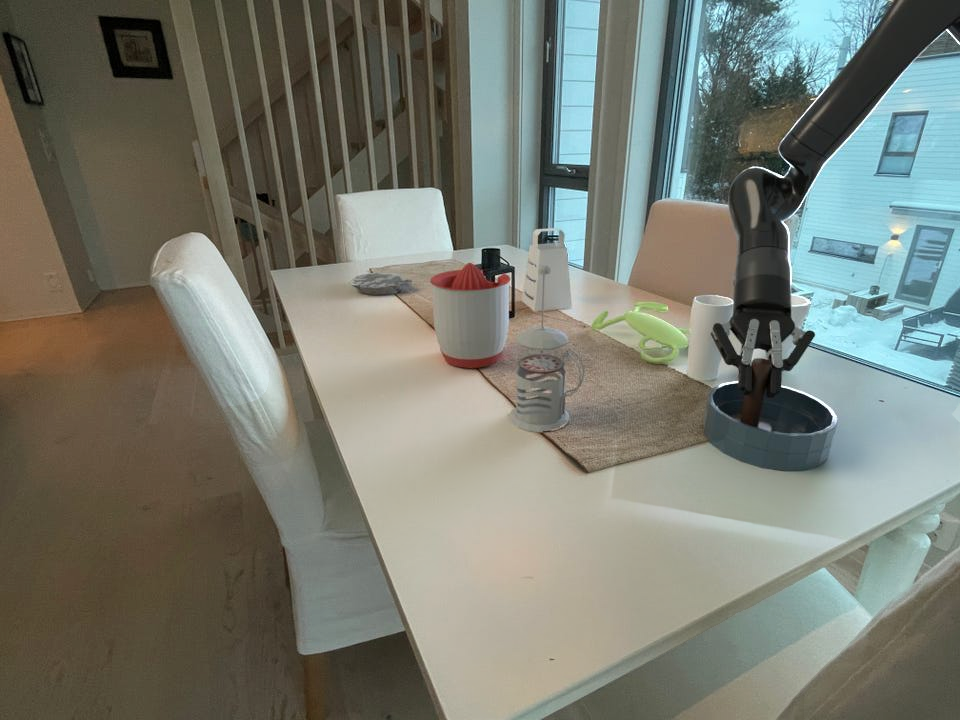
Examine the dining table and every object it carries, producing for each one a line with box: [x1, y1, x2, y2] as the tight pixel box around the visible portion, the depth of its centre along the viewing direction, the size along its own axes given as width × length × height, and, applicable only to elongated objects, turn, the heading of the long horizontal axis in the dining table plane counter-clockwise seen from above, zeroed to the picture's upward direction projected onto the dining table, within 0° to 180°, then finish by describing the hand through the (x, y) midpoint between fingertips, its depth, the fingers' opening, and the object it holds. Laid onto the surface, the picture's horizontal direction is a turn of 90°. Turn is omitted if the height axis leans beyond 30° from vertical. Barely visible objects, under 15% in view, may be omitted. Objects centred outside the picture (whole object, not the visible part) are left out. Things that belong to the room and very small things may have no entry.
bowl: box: [702, 380, 838, 472], centre depth 74 cm, size 16×16×6 cm
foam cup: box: [751, 293, 812, 363], centre depth 99 cm, size 10×9×13 cm
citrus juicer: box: [429, 262, 511, 370], centre depth 103 cm, size 16×17×20 cm
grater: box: [521, 227, 573, 313], centre depth 136 cm, size 10×10×20 cm
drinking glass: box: [685, 294, 733, 382], centre depth 93 cm, size 7×7×15 cm
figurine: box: [590, 301, 689, 365], centre depth 113 cm, size 18×27×6 cm
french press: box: [509, 265, 586, 434], centre depth 78 cm, size 10×12×25 cm
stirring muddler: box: [730, 358, 772, 431], centre depth 73 cm, size 6×6×12 cm
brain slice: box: [349, 271, 413, 296], centre depth 156 cm, size 20×17×3 cm
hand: (759, 394), depth 71 cm, fingers closed on stirring muddler, 2 cm apart
